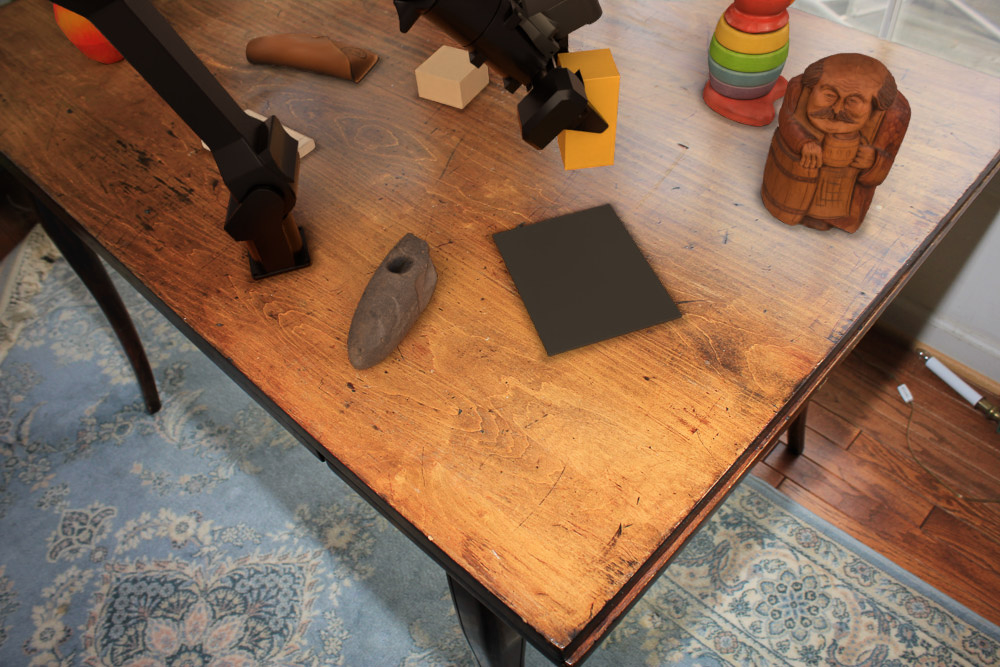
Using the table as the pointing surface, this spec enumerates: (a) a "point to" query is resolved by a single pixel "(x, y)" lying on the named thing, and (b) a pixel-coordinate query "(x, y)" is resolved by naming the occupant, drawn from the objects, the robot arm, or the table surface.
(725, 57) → the stacking bear
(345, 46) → the sunglasses case
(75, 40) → the red orange mango
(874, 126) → the wooden figurine
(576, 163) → the mustard block
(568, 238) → the slate mat
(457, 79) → the tan block
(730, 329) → the table surface
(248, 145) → the robot arm
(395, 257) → the perforated stone tool
